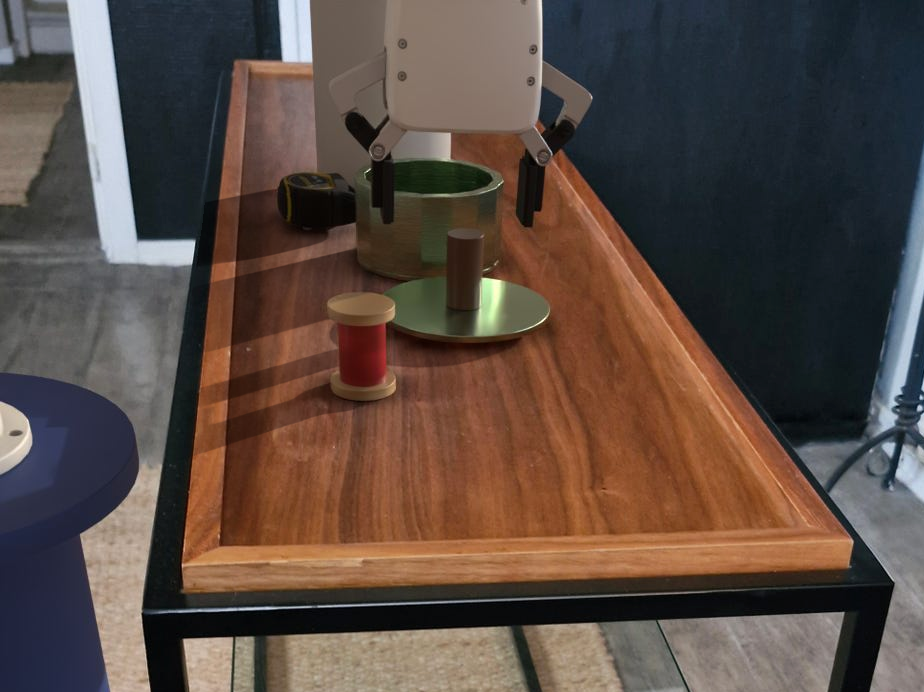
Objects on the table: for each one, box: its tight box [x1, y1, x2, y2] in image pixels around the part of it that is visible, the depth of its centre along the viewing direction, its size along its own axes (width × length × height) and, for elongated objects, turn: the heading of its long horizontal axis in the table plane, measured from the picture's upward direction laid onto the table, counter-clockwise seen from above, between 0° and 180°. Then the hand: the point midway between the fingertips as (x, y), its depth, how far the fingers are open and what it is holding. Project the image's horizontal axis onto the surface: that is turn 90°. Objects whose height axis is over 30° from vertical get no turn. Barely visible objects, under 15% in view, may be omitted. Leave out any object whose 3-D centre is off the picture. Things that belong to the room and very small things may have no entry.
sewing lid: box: [381, 228, 551, 344], centre depth 88 cm, size 13×13×6 cm
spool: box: [326, 291, 397, 402], centre depth 77 cm, size 4×4×6 cm
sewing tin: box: [354, 158, 505, 282], centre depth 98 cm, size 12×12×6 cm
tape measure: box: [276, 171, 356, 231], centre depth 105 cm, size 7×7×4 cm
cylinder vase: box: [309, 0, 452, 189], centre depth 108 cm, size 12×12×25 cm
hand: (455, 220), depth 85 cm, fingers open, 9 cm apart
